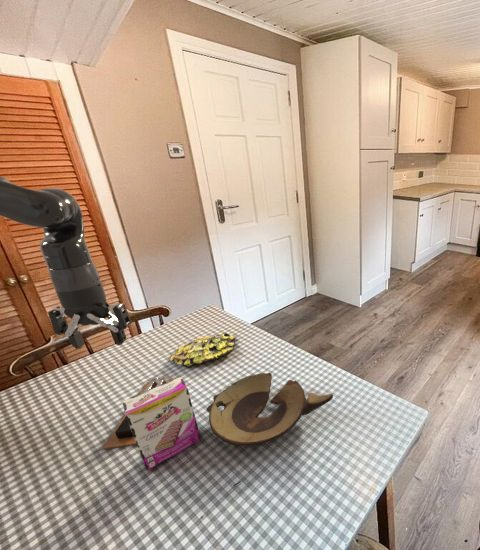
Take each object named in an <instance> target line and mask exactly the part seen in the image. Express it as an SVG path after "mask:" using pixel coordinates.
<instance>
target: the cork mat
mask: <svg viewBox="0 0 480 550" xmlns="http://www.w3.org/2000/svg"><path fill="white" fill-rule="evenodd" d="M177 378H178V377H177ZM177 378H169V380H170V381H172V380H175V379H177ZM170 381H169V382H170ZM148 382H149V381H147V382H146V383H145V385H144V386H143V387H142V389H141V391H140V392H139V394H141V393H143V392H144V391H145V389H146V388H147V386H148V385H149V384H148ZM125 417H126V414H125V413H124V415H123V417H122V418H121V420H120V421H119V423H118V424H117V426H116V427H115V429H114V430H113V432H112V433H111V435H110V436H109V437H108V439H107V440H106V442H105V443H104V445H103V447H102V450H107V449H108V450H109V449H115V448H121V447H129V446H135V445H137V444H136V441H135V439H134V437H128V438H121V439H118V438H117V436H116V434H115V432H116V430H117V429H118V427H119V426H120V424H121V423H122V421H123V420H124V418H125Z"/></svg>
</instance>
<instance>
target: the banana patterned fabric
mask: <svg viewBox="0 0 480 550" xmlns="http://www.w3.org/2000/svg"><path fill="white" fill-rule="evenodd" d="M235 339H236V336H234V335H231V334H229V333H227V332H225V333H224V334H216V335H209V336H207V335H206V336H204V335H203V336H201V337H198V338H195V339H193V340H191V341H189V342H188V343H186V344H183V345H180V346H178V347H177V349H176V351H175V353H173V354H172V355H171V357H170V359H169V361H171V362H174V363H175V364H177V365H181V366H185V367H188V368H189V367H191V366H193V365H194V364H197V365H198V364H202V363H206V362H210V361H213V360H214V361H215V360H217V359H219V358H221V357H224V356H228V355H229V354H230V353H232V352H234V351H233V350H234V348H235V346H236V344H235V343H236V340H235Z"/></svg>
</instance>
